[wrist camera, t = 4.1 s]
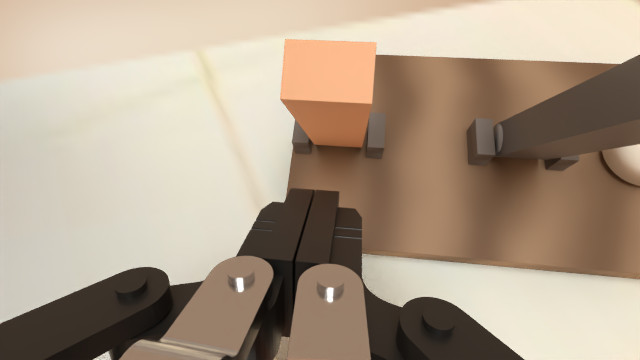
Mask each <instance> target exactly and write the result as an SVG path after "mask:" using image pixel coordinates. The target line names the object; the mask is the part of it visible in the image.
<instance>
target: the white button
mask: <svg viewBox="0 0 640 360" xmlns="http://www.w3.org/2000/svg"><path fill="white" fill-rule="evenodd" d="M602 153H603V157H604V159H605V162H606V163H607V165H608V166H609V168H610V169H611V170H612V171H613V172H614V173H615V174H616V175H617V176H619V177H620V178H621V179H623V180H625V181H627V182H629V183H631V184H634V185H638V186H640V144H637V145H632V146H626V147H620V148H614V149H608V150H603V151H602Z"/></svg>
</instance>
